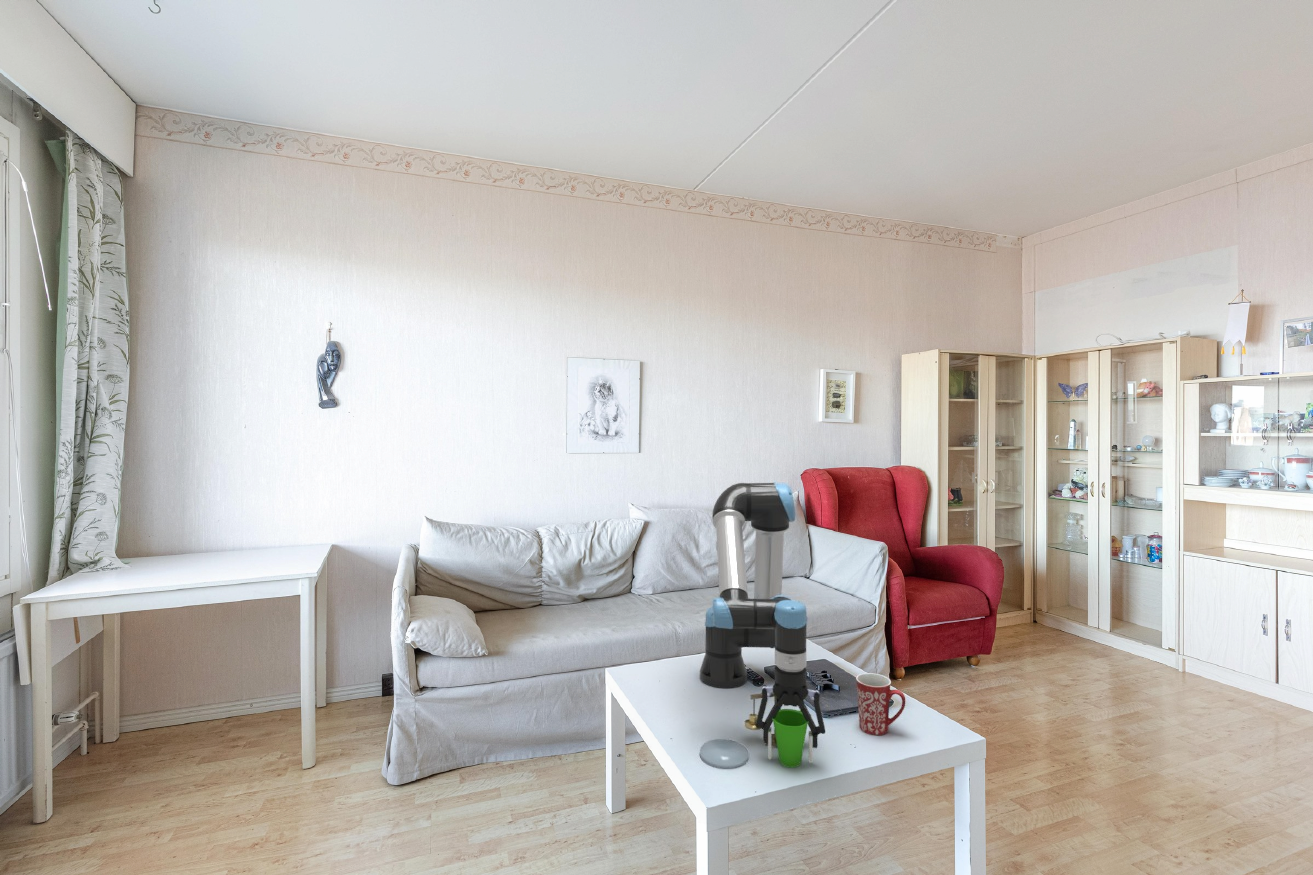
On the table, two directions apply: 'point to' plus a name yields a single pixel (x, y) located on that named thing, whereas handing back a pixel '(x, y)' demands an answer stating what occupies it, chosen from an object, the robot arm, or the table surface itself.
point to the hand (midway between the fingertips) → (790, 757)
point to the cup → (790, 736)
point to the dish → (724, 753)
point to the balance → (753, 717)
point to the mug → (875, 703)
